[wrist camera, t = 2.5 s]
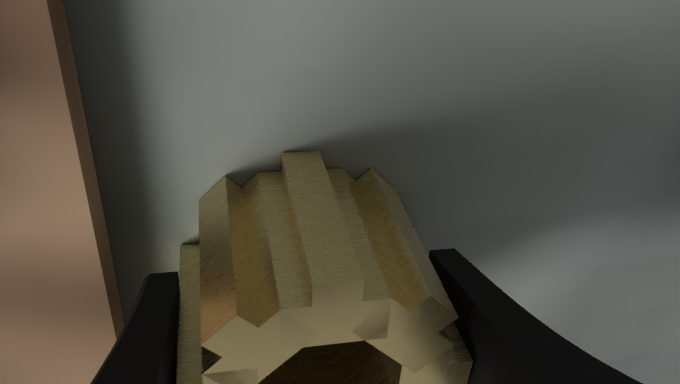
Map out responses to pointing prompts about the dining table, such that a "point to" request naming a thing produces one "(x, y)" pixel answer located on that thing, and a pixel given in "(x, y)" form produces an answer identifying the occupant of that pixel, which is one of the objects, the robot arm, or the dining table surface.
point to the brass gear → (312, 286)
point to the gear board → (49, 210)
